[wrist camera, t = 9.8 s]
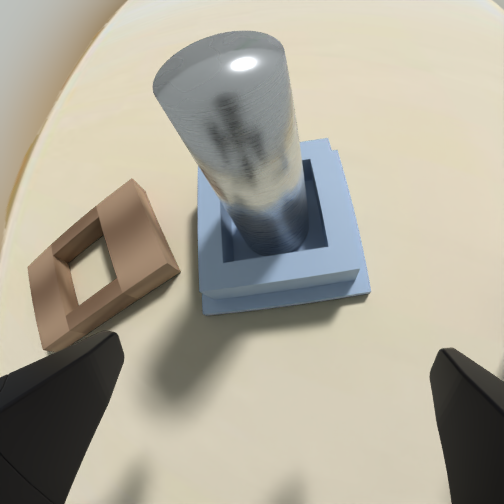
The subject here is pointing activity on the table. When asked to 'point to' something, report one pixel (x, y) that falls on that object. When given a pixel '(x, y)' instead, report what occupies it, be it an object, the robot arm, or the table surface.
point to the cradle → (289, 264)
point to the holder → (123, 259)
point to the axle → (241, 132)
